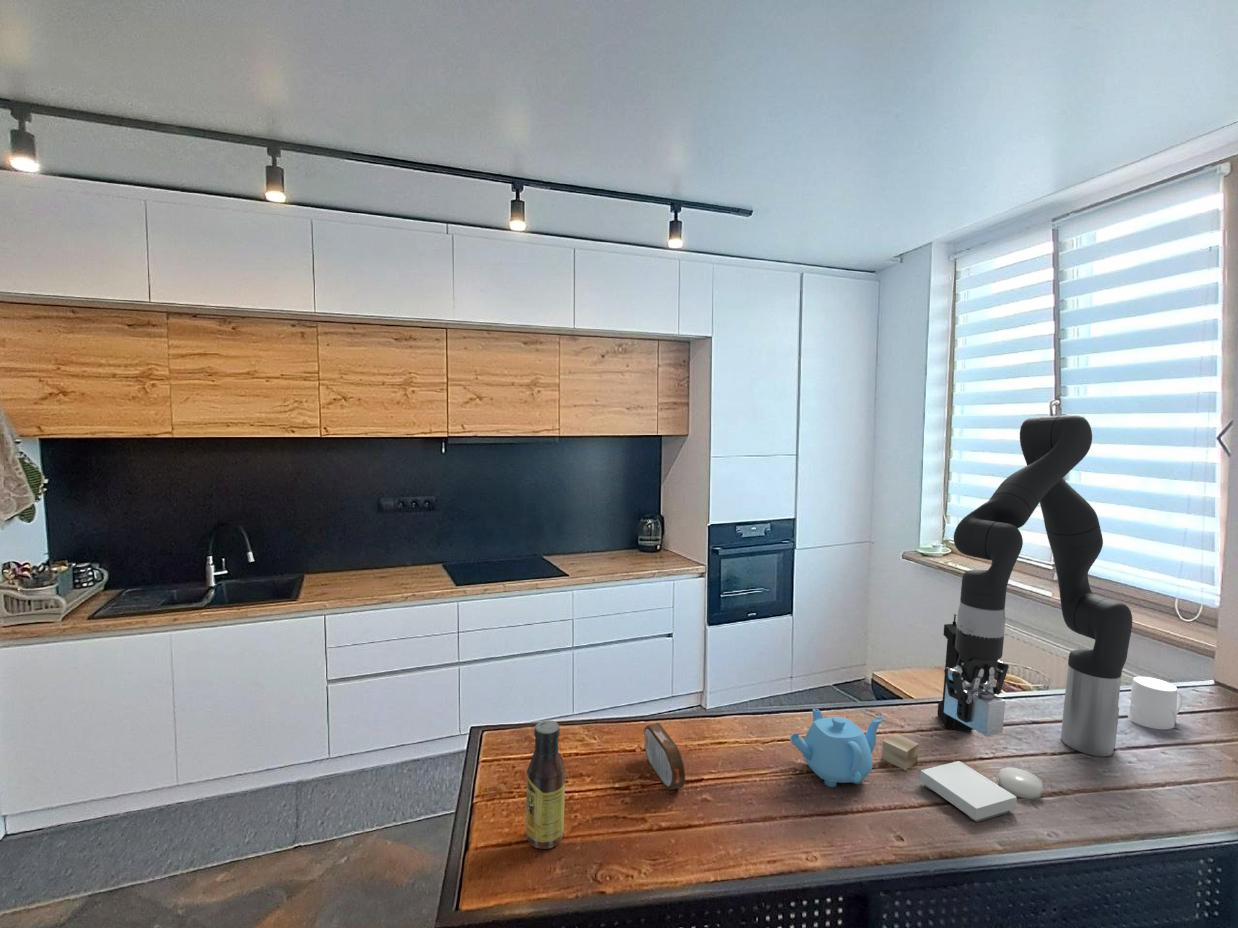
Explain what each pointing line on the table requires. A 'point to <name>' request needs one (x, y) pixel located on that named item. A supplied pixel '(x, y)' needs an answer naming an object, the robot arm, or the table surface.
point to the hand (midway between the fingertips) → (972, 717)
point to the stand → (968, 790)
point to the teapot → (838, 748)
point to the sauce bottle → (545, 788)
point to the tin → (664, 756)
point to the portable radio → (951, 662)
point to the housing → (980, 711)
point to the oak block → (900, 751)
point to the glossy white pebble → (1020, 783)
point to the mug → (1154, 703)
